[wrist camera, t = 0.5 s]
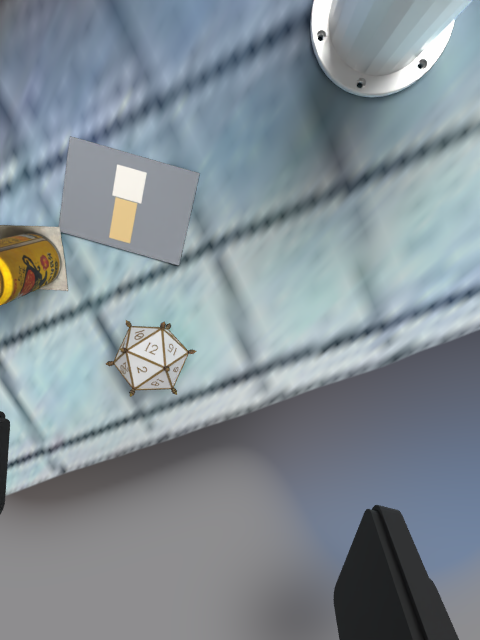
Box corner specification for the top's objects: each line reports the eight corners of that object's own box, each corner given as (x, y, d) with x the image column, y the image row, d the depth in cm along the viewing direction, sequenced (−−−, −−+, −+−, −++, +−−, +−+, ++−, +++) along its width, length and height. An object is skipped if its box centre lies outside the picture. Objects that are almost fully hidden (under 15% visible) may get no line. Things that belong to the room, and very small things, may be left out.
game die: (170, 349, 51) (134, 418, 45) (122, 307, 46) (75, 377, 41) (219, 339, 45) (185, 417, 39) (170, 290, 41) (124, 369, 35)
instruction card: (71, 136, 41) (69, 136, 40) (199, 173, 41) (199, 173, 40) (59, 230, 44) (57, 231, 43) (179, 265, 44) (178, 265, 43)
